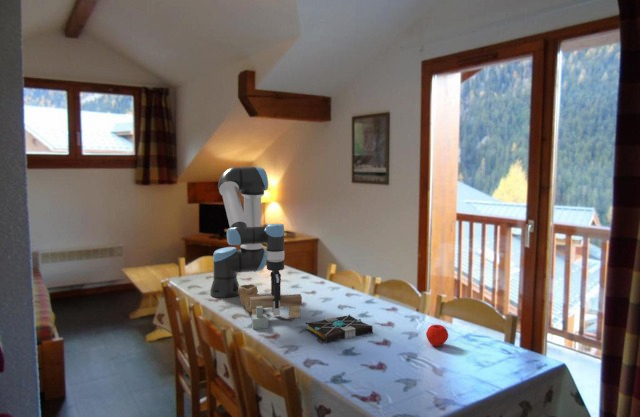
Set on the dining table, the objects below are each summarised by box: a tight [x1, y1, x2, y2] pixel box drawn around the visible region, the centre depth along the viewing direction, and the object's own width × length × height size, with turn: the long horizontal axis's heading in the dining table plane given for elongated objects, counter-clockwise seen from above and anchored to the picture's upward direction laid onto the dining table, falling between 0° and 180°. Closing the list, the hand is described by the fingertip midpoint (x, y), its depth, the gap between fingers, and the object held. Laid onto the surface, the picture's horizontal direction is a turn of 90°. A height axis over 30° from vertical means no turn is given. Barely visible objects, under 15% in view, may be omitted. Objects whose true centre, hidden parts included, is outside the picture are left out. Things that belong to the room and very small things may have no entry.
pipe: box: [238, 283, 261, 314], centre depth 218 cm, size 9×16×10 cm, turn 26°
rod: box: [250, 293, 303, 309], centre depth 205 cm, size 4×22×4 cm, turn 103°
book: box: [304, 314, 374, 344], centre depth 188 cm, size 22×17×5 cm
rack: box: [251, 306, 301, 319], centre depth 206 cm, size 5×20×5 cm, turn 103°
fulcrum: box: [251, 306, 269, 330], centre depth 194 cm, size 6×6×8 cm
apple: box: [425, 324, 449, 347], centre depth 174 cm, size 8×8×7 cm
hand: (275, 313), depth 206 cm, fingers closed on rod, 4 cm apart
